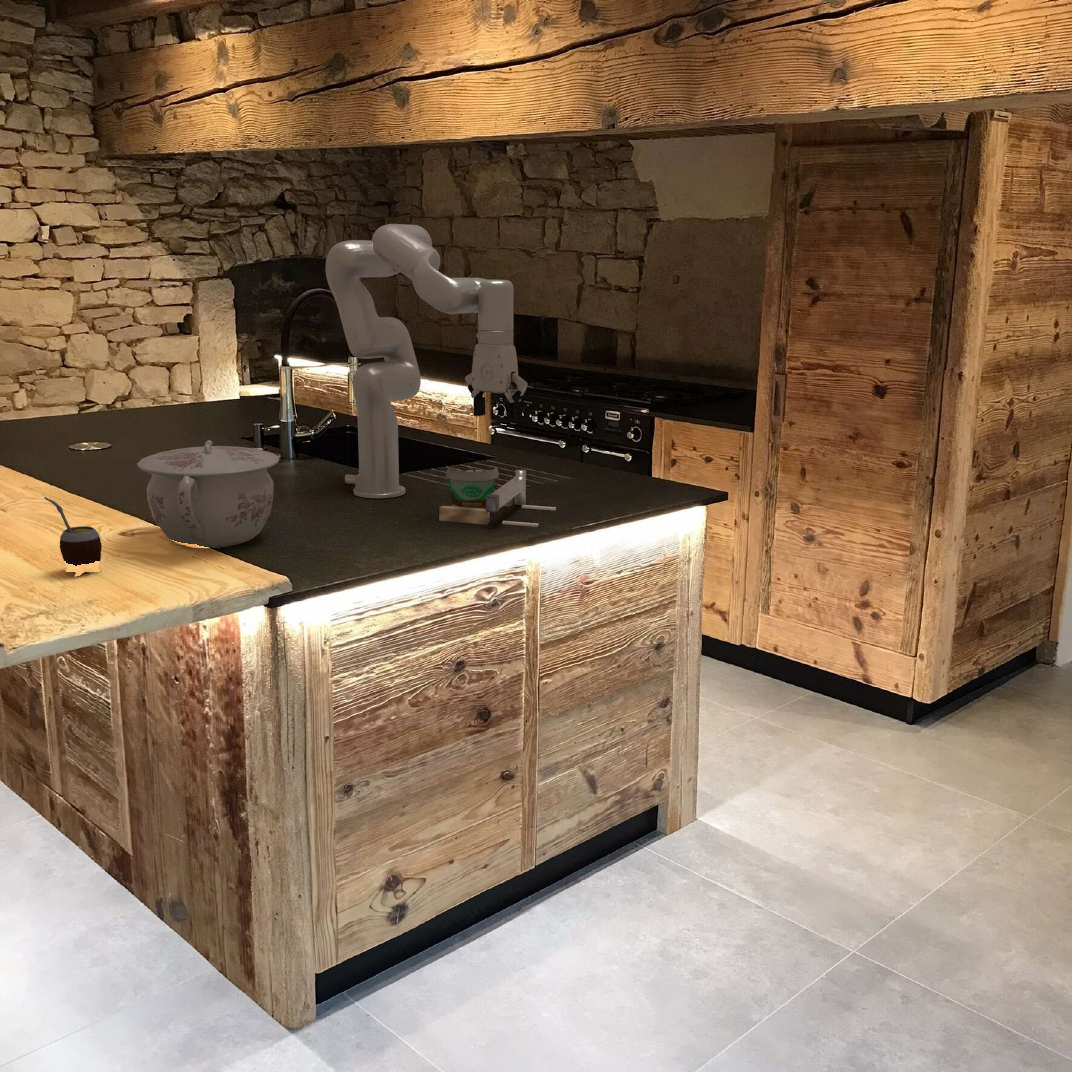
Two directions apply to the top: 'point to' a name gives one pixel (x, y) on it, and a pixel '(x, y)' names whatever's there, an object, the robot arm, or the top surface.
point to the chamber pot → (210, 493)
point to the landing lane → (529, 523)
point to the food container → (471, 487)
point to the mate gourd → (79, 542)
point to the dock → (466, 514)
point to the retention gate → (508, 493)
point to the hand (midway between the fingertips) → (495, 418)
